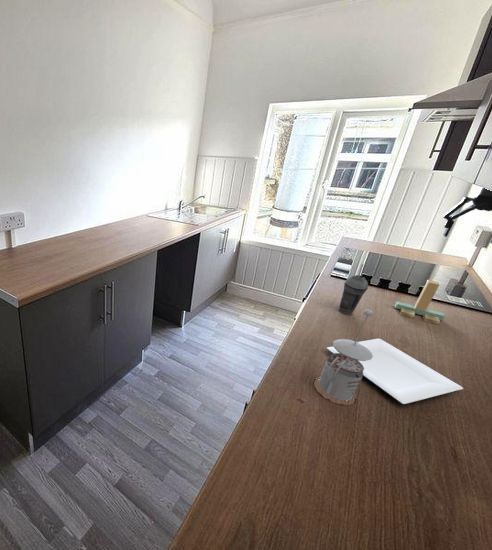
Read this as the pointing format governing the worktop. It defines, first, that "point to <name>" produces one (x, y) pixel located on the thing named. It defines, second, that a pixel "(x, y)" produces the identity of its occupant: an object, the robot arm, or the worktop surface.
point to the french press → (345, 367)
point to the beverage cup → (352, 293)
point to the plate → (402, 373)
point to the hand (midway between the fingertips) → (467, 239)
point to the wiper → (423, 301)
